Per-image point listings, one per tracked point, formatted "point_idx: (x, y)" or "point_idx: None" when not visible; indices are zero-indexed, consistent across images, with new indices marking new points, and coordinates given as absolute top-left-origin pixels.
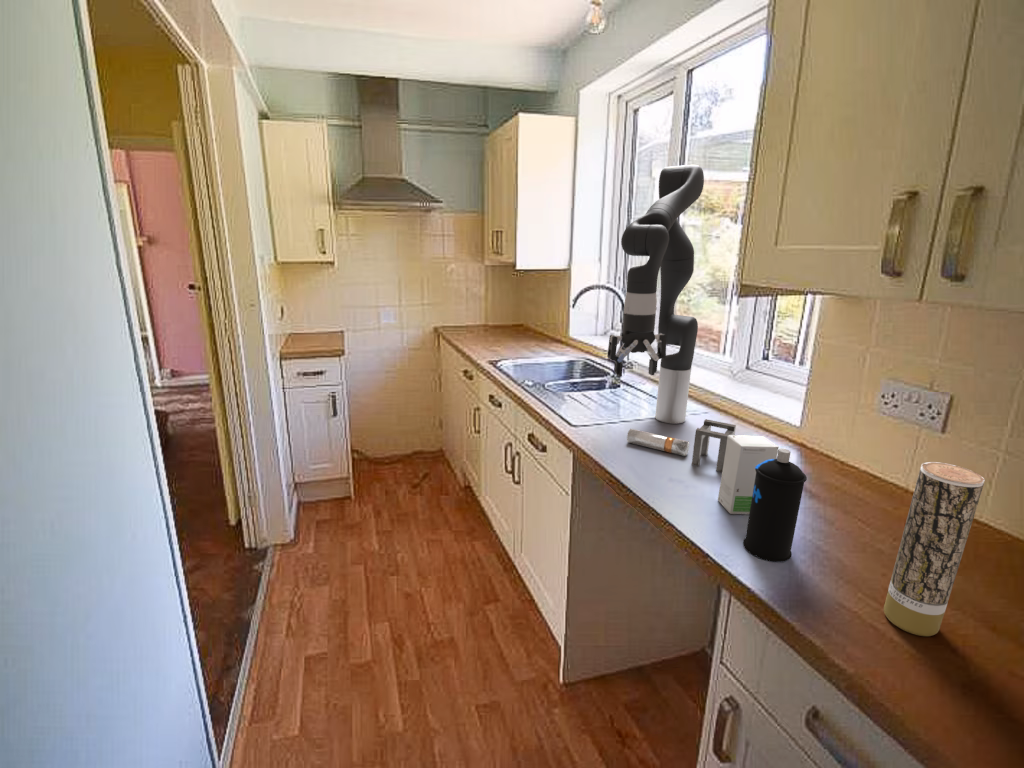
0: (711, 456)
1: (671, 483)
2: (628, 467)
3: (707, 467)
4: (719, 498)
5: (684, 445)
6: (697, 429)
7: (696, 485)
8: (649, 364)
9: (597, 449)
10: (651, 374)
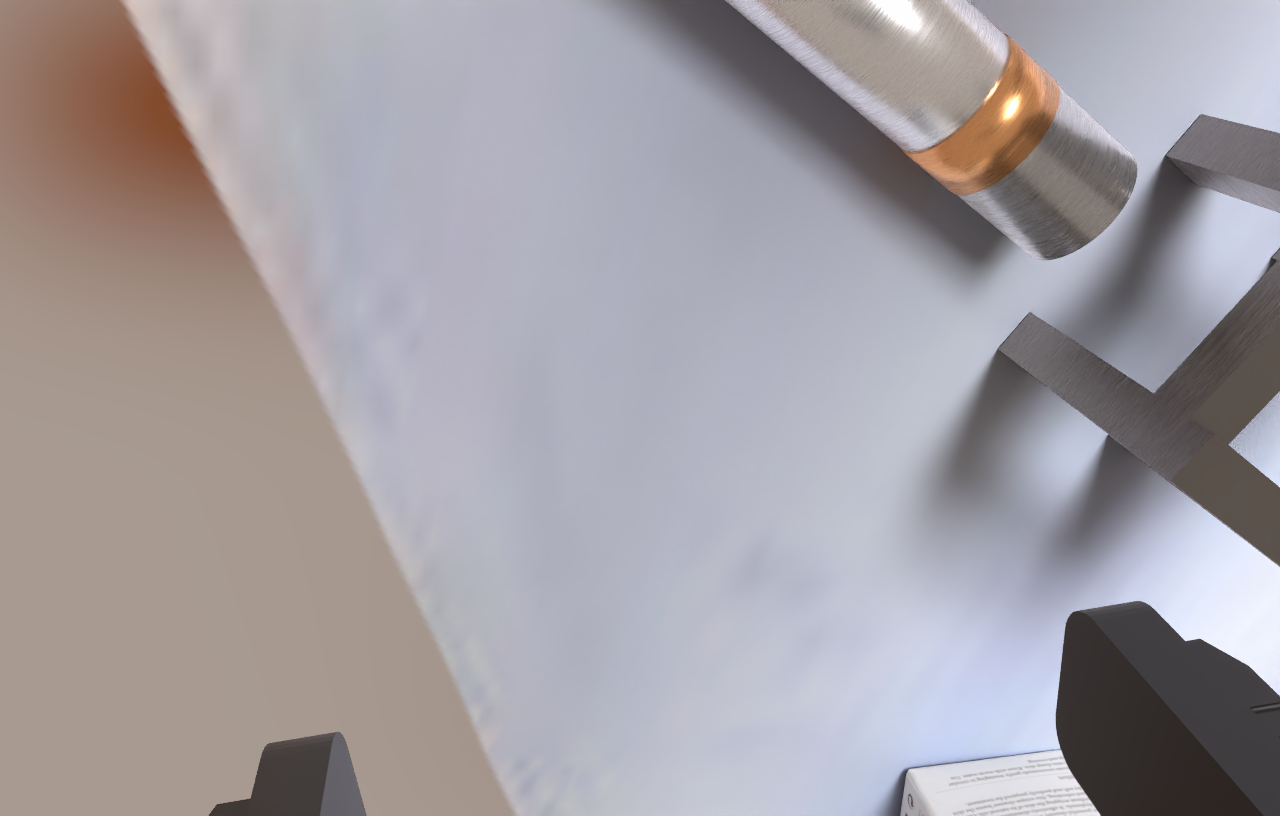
0: None
1: (735, 614)
2: (507, 410)
3: None
4: (910, 798)
5: (1057, 248)
6: (1189, 472)
7: (877, 625)
8: (1202, 770)
9: (283, 42)
10: (1063, 747)
